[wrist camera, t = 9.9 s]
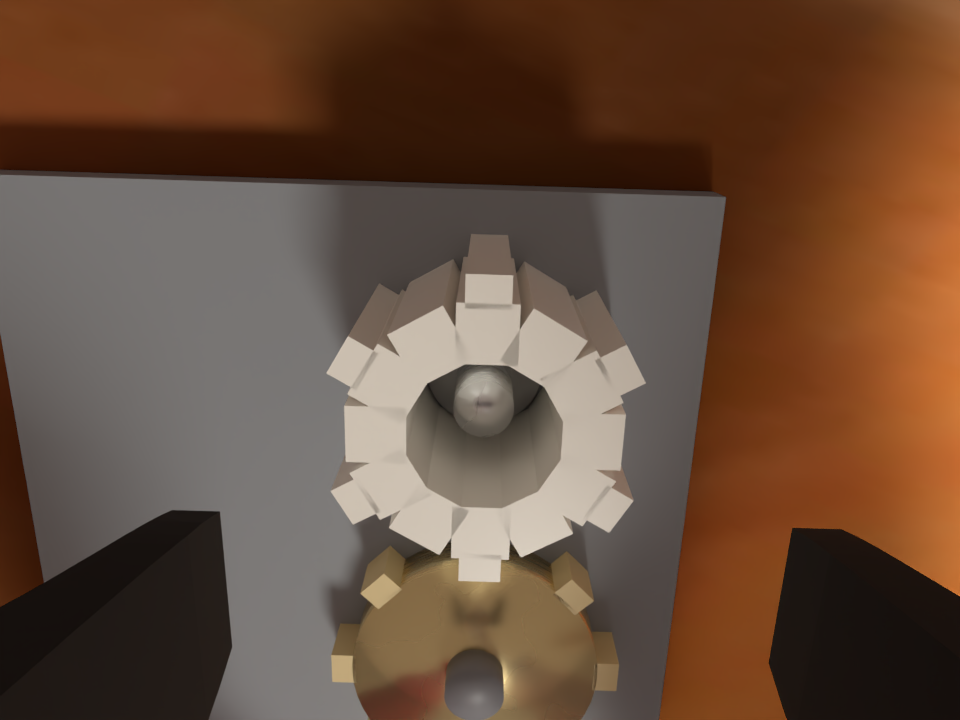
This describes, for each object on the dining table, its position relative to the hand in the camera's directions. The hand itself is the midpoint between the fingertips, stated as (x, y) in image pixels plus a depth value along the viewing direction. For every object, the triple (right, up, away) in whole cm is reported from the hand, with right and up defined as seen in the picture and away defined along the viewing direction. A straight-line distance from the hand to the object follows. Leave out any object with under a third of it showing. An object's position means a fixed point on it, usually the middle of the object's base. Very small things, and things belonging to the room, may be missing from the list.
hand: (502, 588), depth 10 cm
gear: (0, +3, +8) cm, 8 cm away
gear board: (-3, 0, +10) cm, 11 cm away
